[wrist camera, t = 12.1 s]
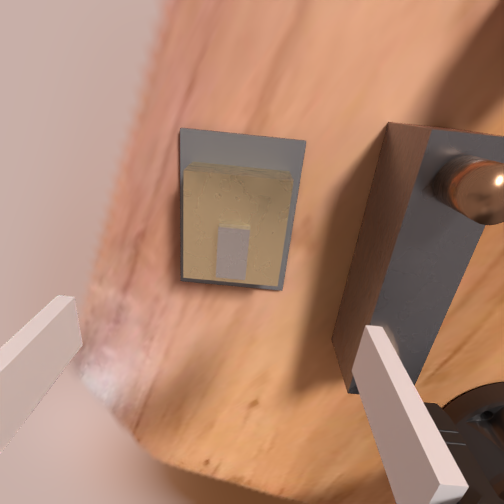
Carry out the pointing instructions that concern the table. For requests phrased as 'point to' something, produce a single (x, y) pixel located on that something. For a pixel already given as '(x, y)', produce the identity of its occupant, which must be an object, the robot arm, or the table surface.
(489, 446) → the robot arm
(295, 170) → the rubber mat
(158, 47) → the table surface
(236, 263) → the lever cap
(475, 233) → the plane body
